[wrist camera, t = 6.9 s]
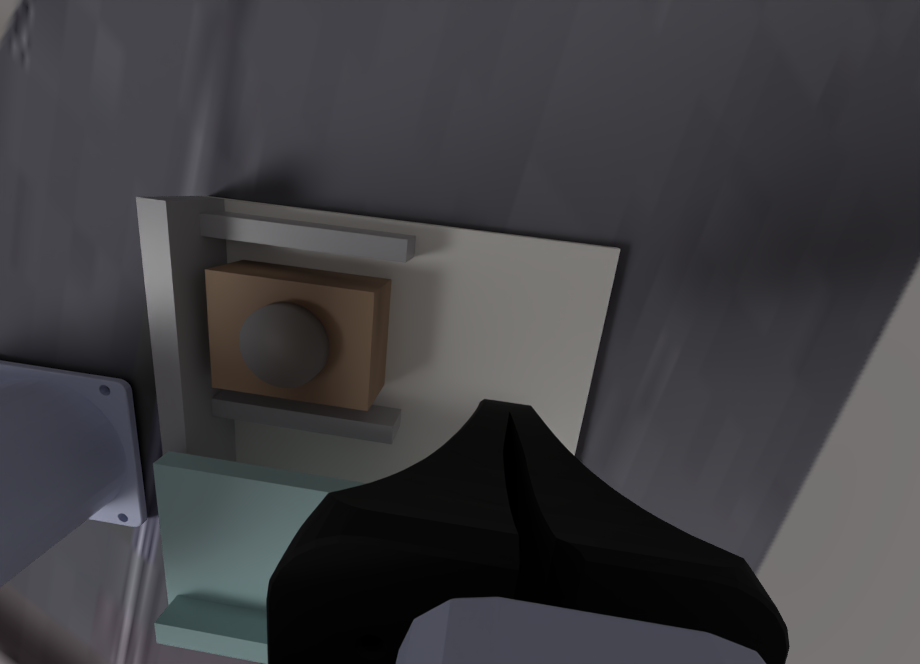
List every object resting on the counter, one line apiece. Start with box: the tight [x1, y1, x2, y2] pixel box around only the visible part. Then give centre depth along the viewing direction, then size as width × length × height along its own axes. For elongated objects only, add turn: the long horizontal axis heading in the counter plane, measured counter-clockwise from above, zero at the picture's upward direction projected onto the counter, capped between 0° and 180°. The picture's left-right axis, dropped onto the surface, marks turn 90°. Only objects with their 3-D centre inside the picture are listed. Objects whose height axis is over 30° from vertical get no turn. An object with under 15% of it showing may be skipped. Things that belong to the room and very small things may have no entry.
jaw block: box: [205, 260, 392, 411], centre depth 17 cm, size 6×4×3 cm
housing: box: [136, 196, 620, 483], centre depth 18 cm, size 16×16×4 cm
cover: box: [153, 451, 367, 664], centre depth 17 cm, size 9×7×2 cm
